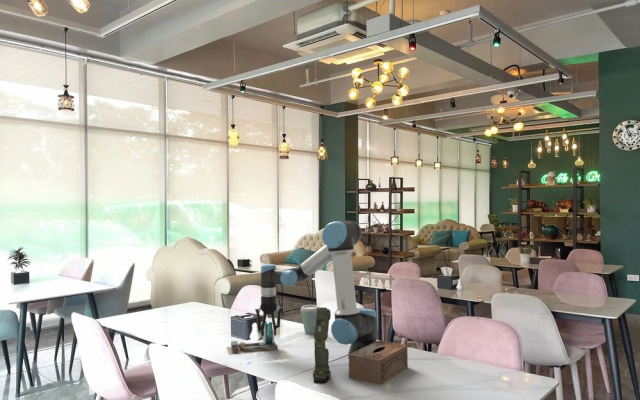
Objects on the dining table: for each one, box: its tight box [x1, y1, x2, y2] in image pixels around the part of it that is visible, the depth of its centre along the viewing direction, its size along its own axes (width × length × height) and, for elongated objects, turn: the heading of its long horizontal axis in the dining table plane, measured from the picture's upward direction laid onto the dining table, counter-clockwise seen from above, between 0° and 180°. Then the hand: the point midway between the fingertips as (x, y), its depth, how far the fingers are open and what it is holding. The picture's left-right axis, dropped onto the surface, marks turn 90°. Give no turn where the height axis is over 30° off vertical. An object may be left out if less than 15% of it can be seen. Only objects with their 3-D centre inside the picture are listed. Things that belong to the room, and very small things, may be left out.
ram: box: [257, 321, 277, 346], centre depth 243 cm, size 8×4×11 cm, turn 105°
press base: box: [226, 340, 279, 356], centre depth 241 cm, size 24×13×5 cm, turn 105°
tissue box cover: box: [348, 339, 409, 386], centre depth 208 cm, size 26×14×10 cm, turn 145°
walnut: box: [238, 341, 246, 350], centre depth 240 cm, size 4×4×4 cm
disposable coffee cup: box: [300, 304, 319, 335], centre depth 276 cm, size 11×11×15 cm
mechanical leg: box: [312, 306, 332, 385], centre depth 203 cm, size 14×7×30 cm, turn 168°
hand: (268, 342), depth 244 cm, fingers open, 4 cm apart
